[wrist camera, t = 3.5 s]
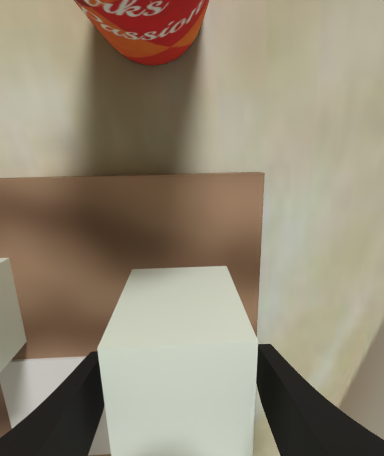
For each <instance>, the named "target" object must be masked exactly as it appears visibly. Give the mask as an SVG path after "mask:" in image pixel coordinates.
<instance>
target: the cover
mask: <svg viewBox="0 0 384 456" xmlns="http://www.w3.org/2000/svg"><path fill="white" fill-rule="evenodd" d="M97 351H98V358H99V366H100V373H101V381H102V389H103V396H104V404H105V411H106V419H107V426H108V434H109V441H110V449H111V456H252V455H253V435H254V415H255V395H256V375H257V356H258V340H257V337H256V335H255V333H254V330H253V328H252V326H251V323H250V321H249V318H248V316H247V314H246V311H245V309H244V306H243V304H242V302H241V299H240V297H239V295H238V292H237V290H236V287H235V285H234V283H233V280H232V278H231V275H230V273H229V271H228V268H227V266H209V267H181V268H152V269H132V271H131V273H130V276H129V278H128V280H127V282H126V285H125V287H124V289H123V291H122V294H121V296H120V298H119V301H118V303H117V305H116V307H115V310H114V312H113V314H112V316H111V319H110V321H109V323H108V325H107V328H106V330H105V332H104V334H103V337H102V339H101V341H100V344H99V346H98V348H97Z"/></svg>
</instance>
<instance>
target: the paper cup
mask: <svg viewBox="0 0 384 456" xmlns="http://www.w3.org/2000/svg"><path fill="white" fill-rule="evenodd" d="M74 1H75V2H76V4H77V5H78V6H79V7H80V8H81V10H82V11H83V12H84V13H85V14H86V16H87V17H88V18H89V19H90V21H91V22H92V23H93V24H94V25H95V27H96V28H97V29H98V30H99V31H100V33H101V34H102V35H103V36H104V37H105V38H106V40H107V41H108V42H109V43H110V44H111V45H112V46H113V47H114V48H115V49H116V50H117V51H118V52H119V53H121V54H122V55H123V56H125V57H126V58H128V59H130V60H132V61H134V62H137V63H140V64H144V65H162V64H166V63H168V62H171V61H173V60H175V59H177V58H178V57H180V56H181V55H182V54H183V53H184V52H185V51H186V50H187V49H188V48H189V47H190V46H191V44H192V43H193V41H194V40H195V38H196V36H197V34H198V32H199V30H200V27H201V24H202V22H203V19H204V16H205V12H206V9H207V6H208V2H209V0H74Z"/></svg>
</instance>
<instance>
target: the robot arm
mask: <svg viewBox="0 0 384 456" xmlns="http://www.w3.org/2000/svg"><path fill="white" fill-rule="evenodd" d="M256 383H257V387H258V392H259V395H260V399H261V403H262V406H263V409H264V412H265V414H266V417H267V420H268V423H269V425H270V428H271V431H272V434H273V436H274V439H275V442H276V444H277V447H278V450H279V453H280V455H281V456H384V440H383V439H381V438H380V437H378V436H377V435H375V434H373V433H372V432H370V431H369V430H367V429H366V428H364V427H363V426H362V425H360V424H359V423H357V422H356V421H354V420H353V419H351V418H350V417H349V416H347V415H346V414H345V413H343V412H342V411H341V410H340V409H338V408H337V407H336V406H335V405H333V404H332V403H331V402H329V401H328V400H327V399H326V398H325V397H323V396H322V395H321V394H320V393H319V392H318V391H317V390H315V389H314V388H313V387H312V386H311V385H310V384H309V383H308V382H307V381H306V380H305V379H304V378H303V377H302V376H301V375H300V374H299V373H298V372H297V371H296V370H295V369H294V368H293V367H292V366H291V365H290V364H289V363H288V362H287V361H286V360H285V359H284V358H283V357H282V356H281V355H280V354H279V353H278V351H277V350H276V349H275V348H274V347H273V346H272V345H271V344H258V356H257V375H256ZM104 406H105V404H104V396H103V389H102V381H101V373H100V366H99V358H98V351H92V352H90V353H89V354H88V355H87V356H86V357H85V358H84V360H83V361H82V362H81V363H80V364H79V365H78V366H77V367H76V368H75V369H74V370H73V372H72V373H71V374H70V375H69V376H68V377H67V378H66V379H65V380H64V381H63V382H62V383H61V384H60V385H59V386H58V387H57V388H56V389H55V390H54V391H53V392H52V393H51V394H50V395H49V396H48V397H47V398H46V399H45V400H44V401H43V402H42V403H41V404H40V405H39V406H38V407H37V408H36V409H35V410H33V411H32V412H31V413H30V414H29V415H28V416H27V417H25V418H24V419H23V420H22V421H21V422H20V423H18V424H17V425H16V426H15V427H14V428H12V429H11V430H10V431H9V432H7V433H6V434H5V435H3V436H2V437H1V438H0V456H88V454H89V451H90V448H91V445H92V442H93V440H94V437H95V434H96V431H97V428H98V425H99V422H100V419H101V416H102V413H103V410H104Z"/></svg>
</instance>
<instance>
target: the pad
mask: <svg viewBox="0 0 384 456" xmlns="http://www.w3.org/2000/svg"><path fill="white" fill-rule="evenodd" d="M85 357H86V356H84V357H62V358H40V359H18V360H11V361H10V362H9V363H8V364H7V365H6V367H5V368H4V369H3V370H2V371H1V373H0V384H1V388H2V391H3V395H4V399H5V403H6V407H7V411H8V415H9V419H10V423H11V427H12V428H14V427H15V426H16V425H17V424H18V423H20V422H21V421H22V420H23V419H24V418H25V417H27V416H28V415H29V414H30V413H31V412H32V411H33V410H35V409H36V408H37V407H38V406H39V405H40V404H41V403H42V402H43V401H44V400H45V399H46V398H47V397H48V396H49V395H50V394H51V393H52V392H53V391H54V390H55V389H56V388H57V387H58V386H59V385H60V384H61V383H62V382H63V381H64V380H65V379H66V378H67V377H68V376H69V375H70V374H71V373H72V372H73V370H74V369H75V368H76V367H77V366H78V365H79V364H80V363H81V362H82V361H83V360H84V358H85ZM102 454H111V449H110V441H109V434H108V426H107V419H106V411H105V406H104V410H103V413H102V416H101V419H100V422H99V425H98V428H97V431H96V434H95V437H94V440H93V442H92V445H91V448H90V451H89V454H88V455H102Z"/></svg>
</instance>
